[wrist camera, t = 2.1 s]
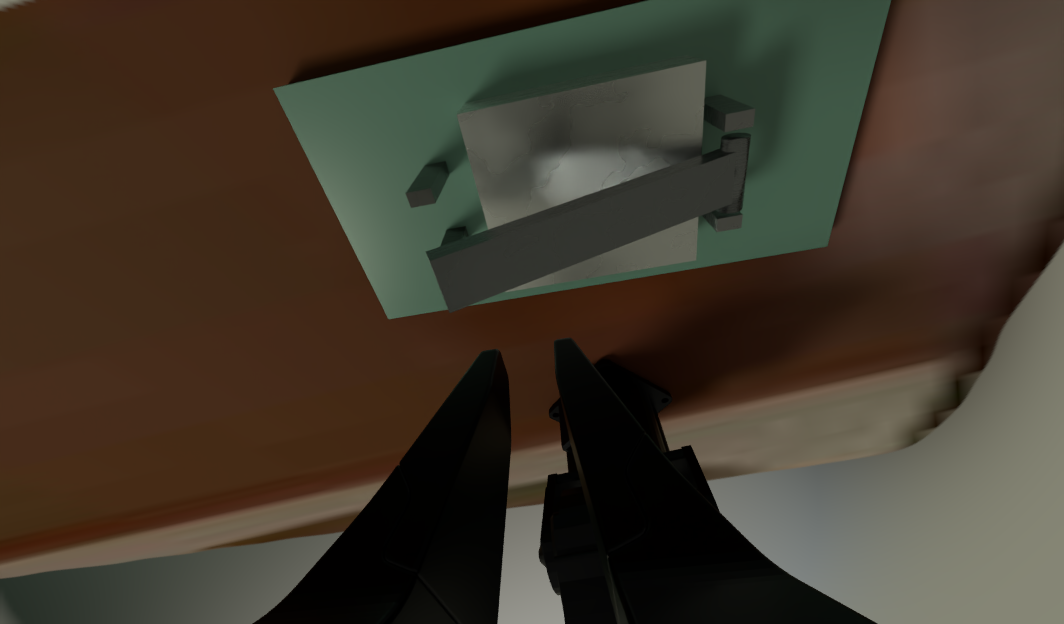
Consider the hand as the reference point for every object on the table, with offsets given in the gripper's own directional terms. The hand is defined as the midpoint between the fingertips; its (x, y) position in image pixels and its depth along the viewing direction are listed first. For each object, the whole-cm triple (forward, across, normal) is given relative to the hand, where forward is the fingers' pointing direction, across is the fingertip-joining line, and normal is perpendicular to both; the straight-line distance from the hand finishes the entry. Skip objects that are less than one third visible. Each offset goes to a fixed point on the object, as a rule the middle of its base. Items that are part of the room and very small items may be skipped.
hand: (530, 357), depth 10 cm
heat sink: (+12, -2, 0) cm, 12 cm away
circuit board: (+13, -3, 0) cm, 13 cm away
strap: (+7, -3, 0) cm, 8 cm away
